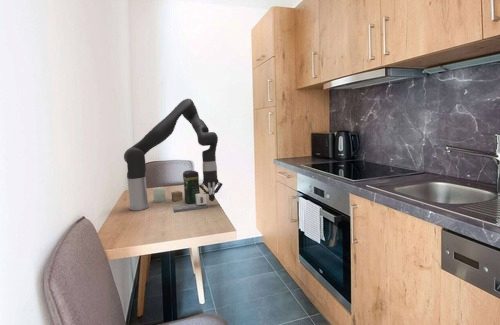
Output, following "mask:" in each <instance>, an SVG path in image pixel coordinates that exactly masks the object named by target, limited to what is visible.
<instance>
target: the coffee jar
mask: <svg viewBox="0 0 500 325" xmlns="http://www.w3.org/2000/svg"><path fill="white" fill-rule="evenodd" d="M199 175H200V174H199V172H198V171H197V170H192V169H191V170H190V169H189V170H184V171H183V172H182V179H183V189H184V190H183V191H184V192H183V193H184V203H187V204H196V197H195V194H200V187H199V185H200V176H199Z"/></svg>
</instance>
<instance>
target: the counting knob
mask: <svg viewBox="0 0 500 325" xmlns="http://www.w3.org/2000/svg"><path fill="white" fill-rule="evenodd" d="M195 197H196V203H195V204H197V205H203V204H206V205H207V204H208V202H207V194H206V193H205V192H203V193H200V194H195Z"/></svg>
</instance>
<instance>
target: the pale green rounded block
mask: <svg viewBox="0 0 500 325" xmlns="http://www.w3.org/2000/svg"><path fill="white" fill-rule="evenodd" d="M152 194H153V195H152V197H153V198H152V199H153V202H154V203H156V204H157V203H158V204H160V203H164V202H166V201H167V199H166V198H167V197H166V196H167V195H166V187H164V186H158V187H153V188H152Z"/></svg>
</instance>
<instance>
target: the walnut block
mask: <svg viewBox="0 0 500 325" xmlns="http://www.w3.org/2000/svg"><path fill="white" fill-rule="evenodd" d="M183 199H184V198H183V192H182V191H181V190H179V191H177V190H176V191H172V192H171V201H172V202H175V203H176V202H181V201H183Z"/></svg>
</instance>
